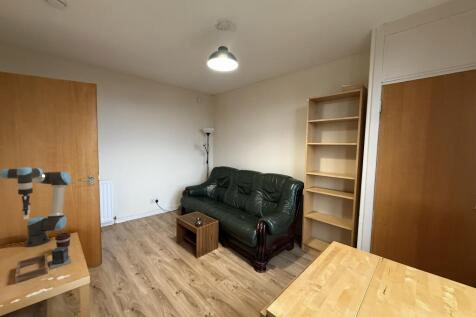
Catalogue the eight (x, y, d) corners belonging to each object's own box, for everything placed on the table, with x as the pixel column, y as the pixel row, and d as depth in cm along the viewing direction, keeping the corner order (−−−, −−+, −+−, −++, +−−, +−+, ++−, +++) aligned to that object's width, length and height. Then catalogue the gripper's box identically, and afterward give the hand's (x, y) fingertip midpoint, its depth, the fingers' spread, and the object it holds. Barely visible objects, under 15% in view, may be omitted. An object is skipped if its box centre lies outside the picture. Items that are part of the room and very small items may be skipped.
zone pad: (49, 262, 156) (49, 261, 156) (69, 256, 165) (69, 255, 165) (50, 269, 148) (50, 268, 148) (71, 263, 156) (71, 262, 156)
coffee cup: (53, 252, 170) (52, 235, 169) (67, 247, 179) (67, 230, 177) (59, 255, 165) (58, 238, 164) (73, 250, 174) (72, 233, 173)
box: (68, 259, 160) (68, 246, 159) (63, 263, 154) (63, 250, 154) (57, 259, 159) (56, 246, 158) (52, 264, 153) (51, 250, 152)
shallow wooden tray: (18, 267, 149) (17, 261, 148) (47, 259, 159) (46, 253, 159) (15, 283, 133) (15, 276, 132) (47, 273, 143) (47, 267, 143)
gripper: (19, 186, 156) (20, 212, 158) (16, 192, 138) (18, 222, 140) (33, 184, 161) (34, 210, 163) (32, 190, 144) (33, 220, 145)
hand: (26, 216), depth 152 cm, fingers open, 13 cm apart
